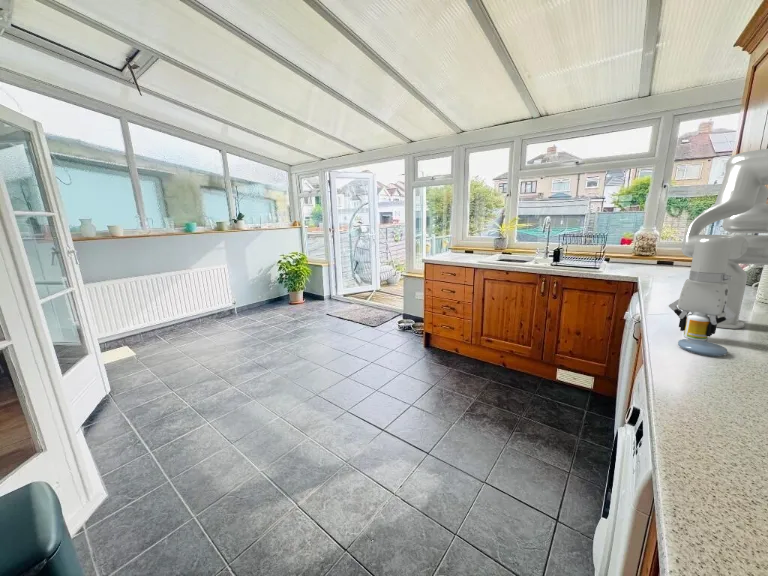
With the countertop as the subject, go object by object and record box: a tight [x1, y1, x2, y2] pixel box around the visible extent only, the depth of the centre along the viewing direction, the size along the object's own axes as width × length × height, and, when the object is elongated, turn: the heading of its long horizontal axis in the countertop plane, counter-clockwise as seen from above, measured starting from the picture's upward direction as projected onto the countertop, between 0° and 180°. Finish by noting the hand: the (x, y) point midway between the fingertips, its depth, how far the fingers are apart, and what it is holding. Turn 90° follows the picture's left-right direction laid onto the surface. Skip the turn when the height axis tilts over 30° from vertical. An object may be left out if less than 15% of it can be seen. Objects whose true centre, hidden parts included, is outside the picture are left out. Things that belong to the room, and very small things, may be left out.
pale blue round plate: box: [677, 338, 728, 357], centre depth 90 cm, size 10×10×2 cm
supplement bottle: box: [683, 312, 711, 341], centre depth 98 cm, size 5×5×10 cm
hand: (695, 332), depth 98 cm, fingers closed on supplement bottle, 5 cm apart
